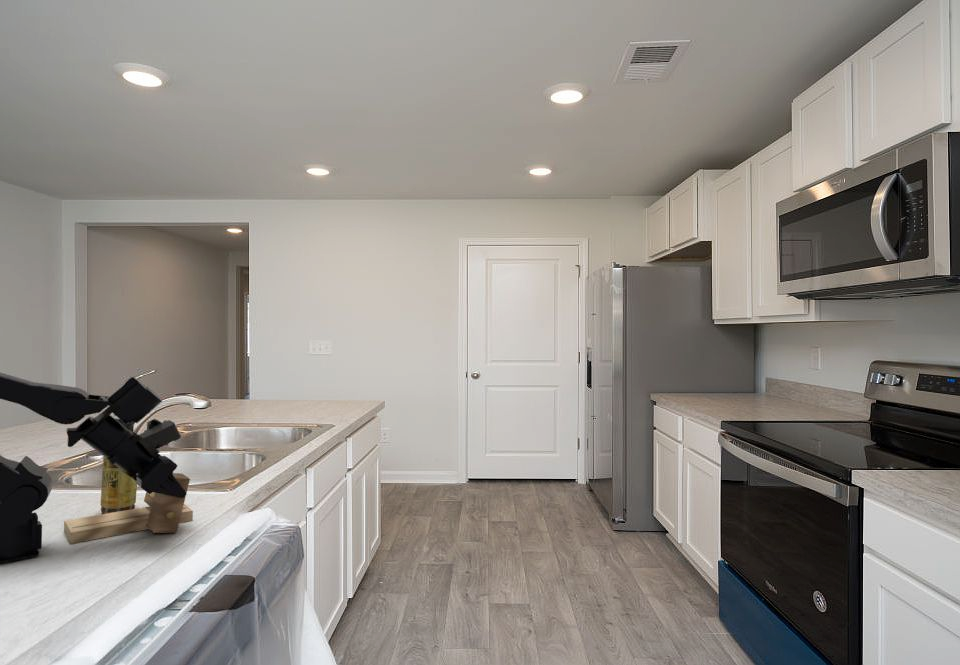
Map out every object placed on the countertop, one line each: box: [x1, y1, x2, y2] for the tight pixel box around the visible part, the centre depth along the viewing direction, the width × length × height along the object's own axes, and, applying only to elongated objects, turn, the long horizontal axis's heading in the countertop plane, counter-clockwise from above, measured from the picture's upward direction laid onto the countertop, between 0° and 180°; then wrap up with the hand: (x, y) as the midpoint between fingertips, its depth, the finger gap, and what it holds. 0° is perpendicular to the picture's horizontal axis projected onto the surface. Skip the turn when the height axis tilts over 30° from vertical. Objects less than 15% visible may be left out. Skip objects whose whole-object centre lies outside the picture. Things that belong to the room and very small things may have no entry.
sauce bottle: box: [99, 415, 138, 514], centre depth 118 cm, size 6×6×20 cm
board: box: [63, 503, 194, 545], centre depth 110 cm, size 20×8×2 cm, turn 133°
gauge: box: [143, 472, 191, 534], centre depth 112 cm, size 4×15×10 cm, turn 43°
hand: (180, 492), depth 110 cm, fingers closed on gauge, 5 cm apart
